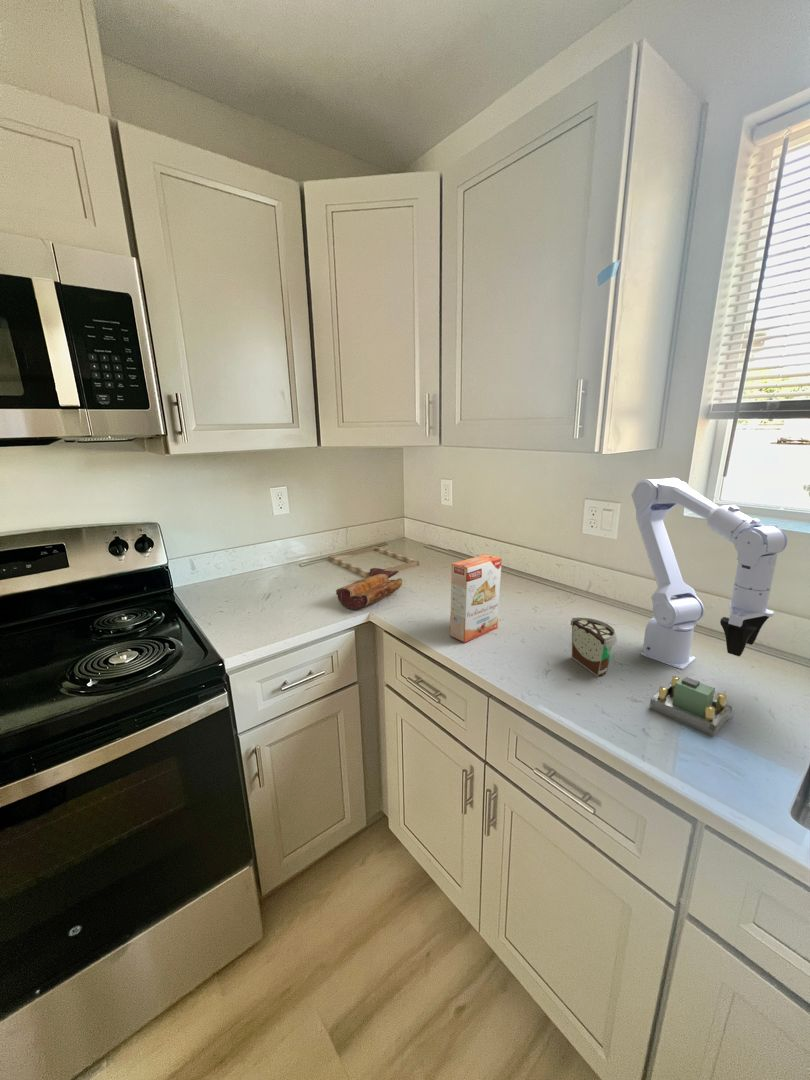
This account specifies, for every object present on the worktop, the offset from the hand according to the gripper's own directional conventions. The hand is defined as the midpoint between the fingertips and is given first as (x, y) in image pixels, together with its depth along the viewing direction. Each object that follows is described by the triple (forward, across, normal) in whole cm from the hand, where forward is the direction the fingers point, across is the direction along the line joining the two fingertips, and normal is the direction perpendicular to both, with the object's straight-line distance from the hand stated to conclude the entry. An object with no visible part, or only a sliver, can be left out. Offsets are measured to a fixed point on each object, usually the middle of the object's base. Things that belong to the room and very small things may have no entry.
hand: (740, 648), depth 91 cm
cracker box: (+10, -21, +54) cm, 59 cm away
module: (+9, -15, +3) cm, 17 cm away
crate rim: (+10, -8, +124) cm, 125 cm away
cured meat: (+3, -28, +94) cm, 98 cm away
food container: (+10, -12, +24) cm, 29 cm away
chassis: (+10, -15, +3) cm, 18 cm away
